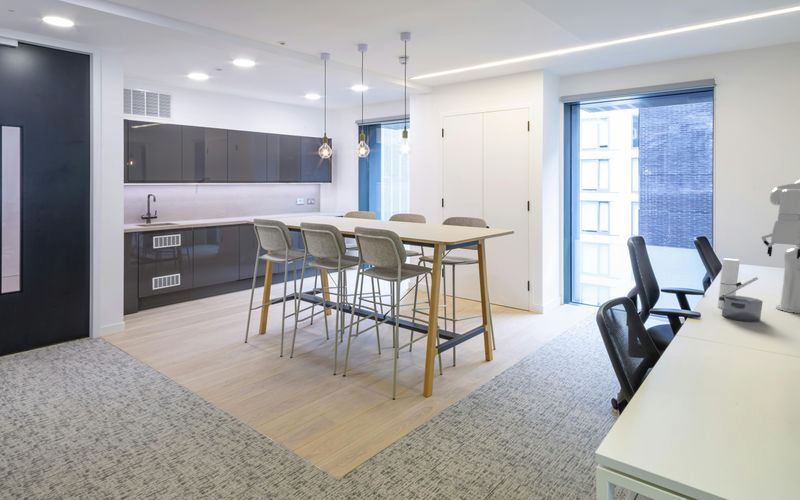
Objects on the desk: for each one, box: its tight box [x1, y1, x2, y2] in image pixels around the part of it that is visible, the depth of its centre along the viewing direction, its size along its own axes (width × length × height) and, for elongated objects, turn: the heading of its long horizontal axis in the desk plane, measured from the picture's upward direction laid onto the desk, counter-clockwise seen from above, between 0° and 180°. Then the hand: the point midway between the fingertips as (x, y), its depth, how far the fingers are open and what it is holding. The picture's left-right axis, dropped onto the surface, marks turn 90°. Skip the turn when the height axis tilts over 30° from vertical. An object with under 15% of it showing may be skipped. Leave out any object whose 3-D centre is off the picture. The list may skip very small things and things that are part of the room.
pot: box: [718, 295, 763, 323], centre depth 232 cm, size 20×16×9 cm
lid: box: [723, 276, 759, 296], centre depth 231 cm, size 16×16×3 cm
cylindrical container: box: [717, 257, 741, 309], centre depth 250 cm, size 7×7×25 cm
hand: (783, 257), depth 215 cm, fingers open, 9 cm apart
